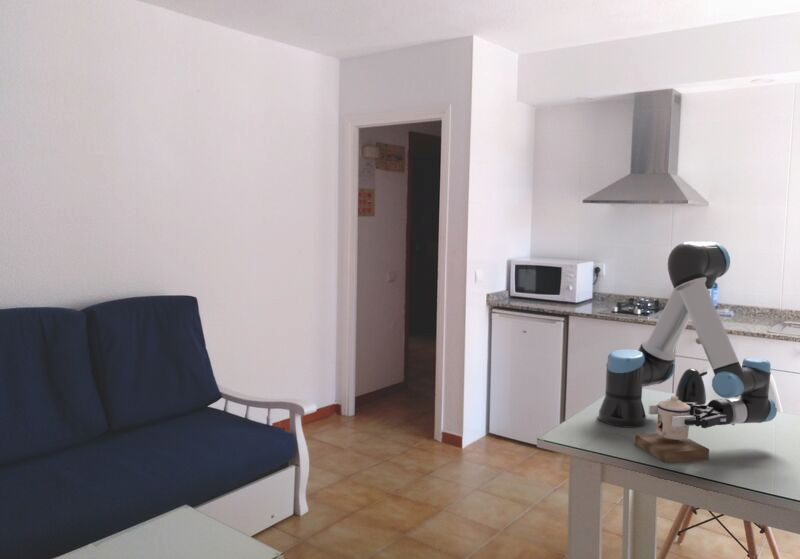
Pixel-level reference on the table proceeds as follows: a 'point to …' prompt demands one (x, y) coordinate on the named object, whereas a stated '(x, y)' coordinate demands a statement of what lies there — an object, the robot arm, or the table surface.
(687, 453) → the walnut stand
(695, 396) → the pump dispenser
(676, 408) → the teacup with lid
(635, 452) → the table surface
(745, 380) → the robot arm
